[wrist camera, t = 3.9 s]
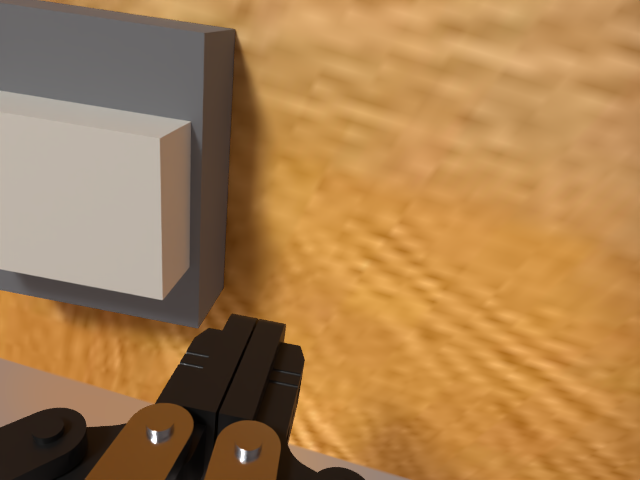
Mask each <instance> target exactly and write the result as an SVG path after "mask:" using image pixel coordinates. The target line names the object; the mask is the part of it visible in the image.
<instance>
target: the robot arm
mask: <svg viewBox="0 0 640 480" xmlns="http://www.w3.org/2000/svg"><path fill="white" fill-rule="evenodd" d="M285 329H286V324H283V323H278V322H273V321H268V320H262V319H259V320H258V319H257V318H252V317H247V316H242V315H236V314H231V315H230V317H229V319H228V321H227V323H226V325H225V327H224V329H223V330H222V331H221V330H216V329H211V328H208V329H207V330H205V331H204V332H202V333H201V334H200V335H198V336H197V337H195V338H194V340H193V341H192V343H191V345H190V346H189V348H188V350H187V352H186V354H185V355H184V356H183V358H182V360H181V361H180V365H178V366H177V368H176V370H175V371H174V373H173V375H172V376H171V378H170V380H169V381H168V383H167V385H166V386H165V388H164V389H163V391H162V393H161V394H160V396H159V398H158V399H157V401H156V403H155V404H153V405H150V406H147V407H145V408H143V409H141V410H139V411H138V412H137V413H135V414H134V415H133V416H132V417H131V419H130V420H129V421H128V423H126V424H121V425H114V426H100V427H86V421H85V419H84V417H83V416H82V415H81V414H80V413H78V412H77V411H75V410H71V409H68V408H52V409H46V410H43V411H40V412H37V413H34V414H32V415H30V416H27V417H25V418H23V419H20V420H17V421H15V422H13V423H10V424H8V425H5V426H3V427H0V480H365V479H364V478H363V477H362V476H360V475H359V474H357V473H356V472H354V471H351V470H349V469H346V468H341V467H332V468H326V469H323V470H321V471H319V472H318V473H317V472H315V471H314V470H312V469H310V468H308V467H306V466H305V465H303V464H302V463H300V462H299V461H298V460H297V459H296V458H295V457H294V456H293V454H292V453H291V451H290V449H289V447H288V442H289V437H290V433H291V429H292V425H293V421H294V416H295V412H296V408H297V404H298V398H299V392H300V386H301V380H302V374H303V367H304V361H305V359H304V356H303V353H302V350H301V347H300V346H298V345H292V344H287V343H284V337H285Z"/></svg>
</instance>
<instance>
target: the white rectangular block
mask: <svg viewBox="0 0 640 480" xmlns="http://www.w3.org/2000/svg"><path fill="white" fill-rule="evenodd" d="M190 171H191V121H185V120H179V119H173V118H166V117H160V116H154V115H148V114H142V113H136V112H129V111H123V110H117V109H111V108H105V107H99V106H92V105H86V104H80V103H74V102H68V101H62V100H55V99H49V98H43V97H37V96H31V95H25V94H18V93H12V92H6V91H0V269H2V270H7V271H12V272H18V273H23V274H28V275H33V276H38V277H44V278H49V279H54V280H59V281H65V282H70V283H75V284H80V285H86V286H91V287H96V288H101V289H107V290H112V291H117V292H122V293H127V294H133V295H138V296H143V297H148V298H154V299H159V300H163V299H164V298H165V297H166V295H167V294H168V293H169V292H170V291H171V289H172V288H173V287H174V286H175V284H176V283H177V282H178V281H179V279H180V278H181V277H182V276H183V274H184V273H185V272H186V271H187V270H188V268H189V266H190Z"/></svg>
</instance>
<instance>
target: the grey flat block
mask: <svg viewBox="0 0 640 480" xmlns="http://www.w3.org/2000/svg"><path fill="white" fill-rule="evenodd" d="M234 45H235V29H230V28H223V27H216V26H210V25H203V24H196V23H189V22H182V21H176V20H169V19H162V18H155V17H148V16H142V15H135V14H128V13H121V12H114V11H107V10H101V9H94V8H87V7H80V6H73V5H67V4H60V3H53V2H46V1H39V0H0V91H6V92H12V93H18V94H25V95H31V96H37V97H43V98H49V99H55V100H62V101H68V102H74V103H80V104H86V105H92V106H99V107H105V108H111V109H117V110H123V111H129V112H136V113H142V114H148V115H154V116H160V117H166V118H173V119H179V120H185V121H191V171H190V266H189V268H188V270H187V271H186V272H185V273H184V274H183V276H182V277H181V278H180V279H179V281H178V282H177V283H176V284H175V286H174V287H173V288H172V289H171V291H170V292H169V293H168V294H167V295H166V297H165V298H164V299H163V300H159V299H154V298H148V297H143V296H138V295H133V294H127V293H122V292H117V291H112V290H107V289H101V288H96V287H91V286H86V285H80V284H75V283H70V282H65V281H59V280H54V279H49V278H44V277H38V276H33V275H28V274H23V273H18V272H12V271H7V270H2V269H0V290H3V291H8V292H14V293H19V294H24V295H29V296H34V297H39V298H44V299H50V300H55V301H60V302H65V303H70V304H75V305H80V306H86V307H91V308H96V309H101V310H106V311H111V312H116V313H122V314H127V315H132V316H137V317H142V318H147V319H152V320H158V321H163V322H168V323H173V324H178V325H183V326H189V327H194V328H199V327H200V325H201V323H202V322H203V320H204V319H205V317H206V315H207V314H208V312H209V311H210V309H211V307H212V306H213V304H214V303H215V301H216V299H217V298H218V296H219V295H220V293H221V291H222V290H223V284H224V262H225V241H226V219H227V197H228V176H229V154H230V132H231V111H232V89H233V67H234Z"/></svg>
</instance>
